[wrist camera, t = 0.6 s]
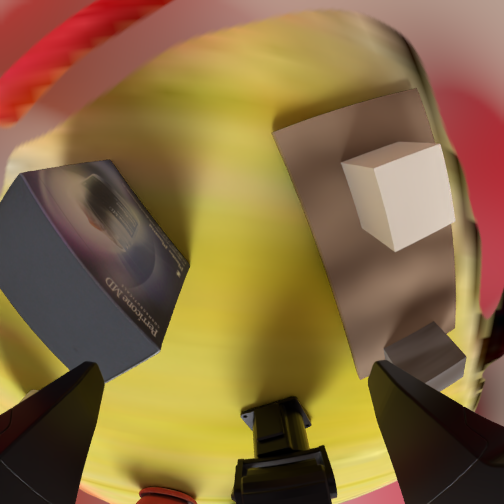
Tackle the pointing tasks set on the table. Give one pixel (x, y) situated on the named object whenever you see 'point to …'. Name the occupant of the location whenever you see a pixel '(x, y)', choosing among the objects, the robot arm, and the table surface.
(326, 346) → the table surface
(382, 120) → the walnut strip
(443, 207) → the off-white block
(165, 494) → the plant pot
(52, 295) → the small box
